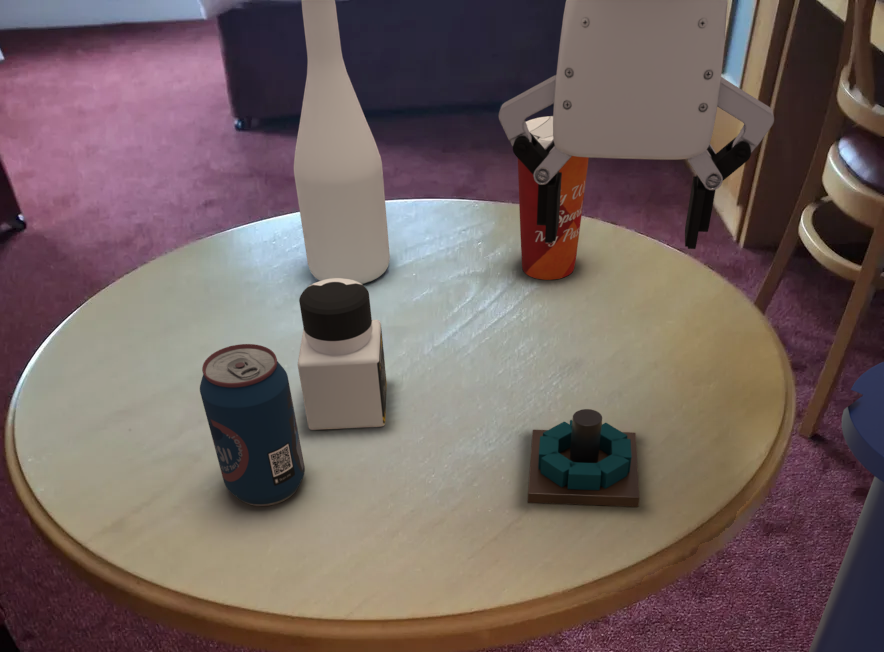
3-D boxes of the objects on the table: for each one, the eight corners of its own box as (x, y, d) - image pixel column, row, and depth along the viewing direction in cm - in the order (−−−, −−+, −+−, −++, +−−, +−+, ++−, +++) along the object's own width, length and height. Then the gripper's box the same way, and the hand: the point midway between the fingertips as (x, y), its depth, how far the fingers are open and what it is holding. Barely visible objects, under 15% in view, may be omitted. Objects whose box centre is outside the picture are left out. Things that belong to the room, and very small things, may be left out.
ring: (627, 436, 80) (629, 421, 78) (630, 491, 74) (632, 476, 73) (540, 434, 80) (540, 418, 79) (536, 488, 75) (537, 472, 74)
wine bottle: (326, 248, 110) (285, -51, 89) (400, 254, 108) (377, -50, 87) (297, 285, 104) (246, -27, 83) (376, 292, 102) (344, -26, 81)
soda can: (211, 485, 79) (177, 363, 70) (277, 451, 82) (252, 330, 74) (256, 522, 75) (225, 398, 67) (323, 485, 78) (302, 362, 70)
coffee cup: (549, 292, 100) (556, 148, 90) (497, 268, 105) (497, 129, 94) (600, 266, 104) (612, 125, 93) (547, 244, 108) (553, 108, 98)
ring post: (634, 441, 81) (641, 387, 77) (638, 507, 74) (646, 452, 70) (532, 438, 82) (534, 385, 78) (527, 502, 75) (529, 448, 72)
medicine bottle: (385, 428, 84) (373, 307, 75) (308, 431, 84) (287, 311, 75) (387, 385, 89) (375, 267, 80) (314, 388, 89) (295, 271, 80)
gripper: (804, -72, 53) (744, 220, 65) (509, -69, 56) (505, 211, 68) (817, -43, 48) (749, 268, 60) (492, -41, 51) (491, 256, 63)
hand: (620, 237), depth 64 cm, fingers open, 9 cm apart
